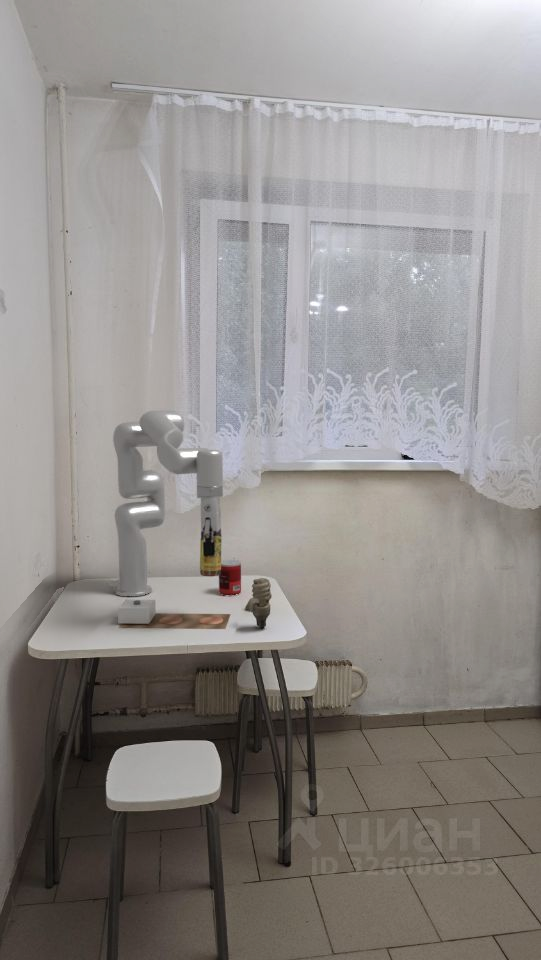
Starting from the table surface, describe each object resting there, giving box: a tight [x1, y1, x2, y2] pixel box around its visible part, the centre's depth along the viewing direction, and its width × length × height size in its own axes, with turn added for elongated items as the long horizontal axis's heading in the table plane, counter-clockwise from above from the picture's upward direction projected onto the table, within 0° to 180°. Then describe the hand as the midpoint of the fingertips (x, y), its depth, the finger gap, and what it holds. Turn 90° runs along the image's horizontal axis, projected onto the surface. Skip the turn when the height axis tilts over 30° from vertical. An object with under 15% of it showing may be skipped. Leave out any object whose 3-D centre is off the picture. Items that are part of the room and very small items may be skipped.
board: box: [117, 612, 231, 630], centre depth 193 cm, size 31×14×1 cm, turn 88°
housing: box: [117, 599, 157, 624], centre depth 193 cm, size 9×9×5 cm
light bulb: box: [251, 577, 272, 630], centre depth 189 cm, size 6×6×15 cm
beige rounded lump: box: [244, 591, 273, 613], centre depth 207 cm, size 6×8×10 cm
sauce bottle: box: [199, 507, 223, 577], centre depth 191 cm, size 7×6×20 cm
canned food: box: [218, 559, 242, 596], centre depth 227 cm, size 8×8×11 cm
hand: (210, 552), depth 191 cm, fingers closed on sauce bottle, 6 cm apart
